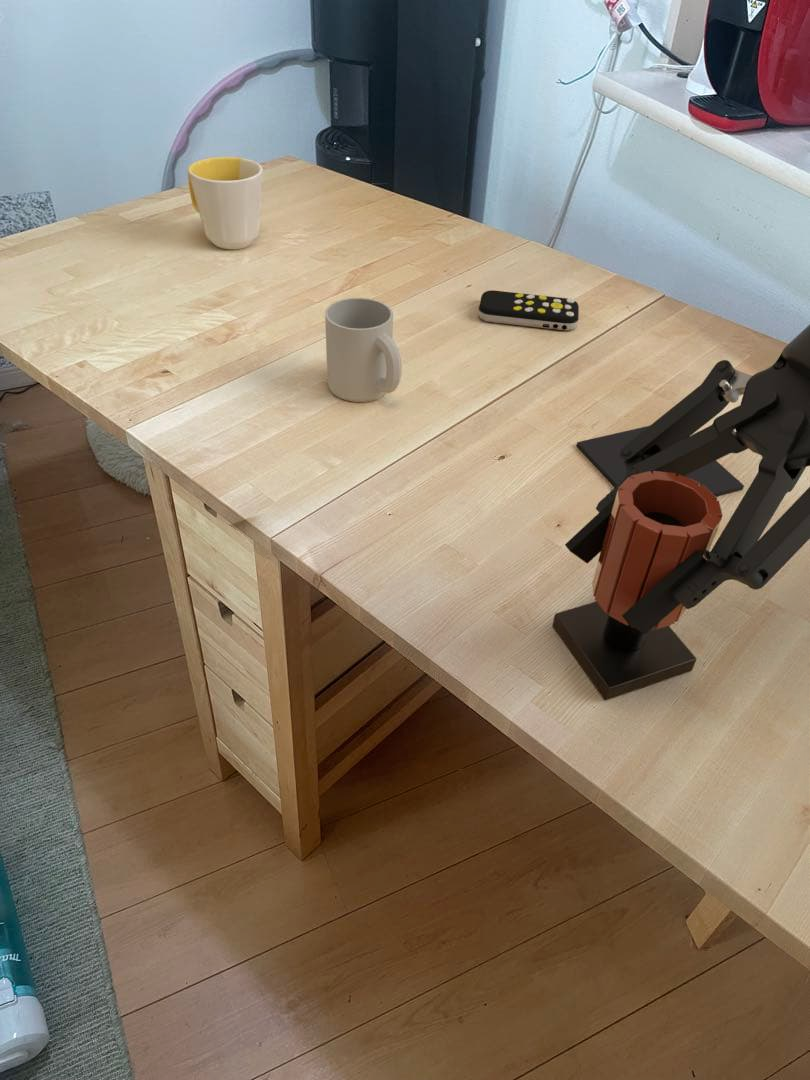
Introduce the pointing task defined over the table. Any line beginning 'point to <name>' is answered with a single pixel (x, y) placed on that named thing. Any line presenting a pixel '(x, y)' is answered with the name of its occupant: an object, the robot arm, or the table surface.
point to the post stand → (622, 646)
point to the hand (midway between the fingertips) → (603, 587)
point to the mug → (227, 199)
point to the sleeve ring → (652, 538)
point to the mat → (613, 468)
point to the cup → (361, 350)
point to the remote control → (529, 310)
